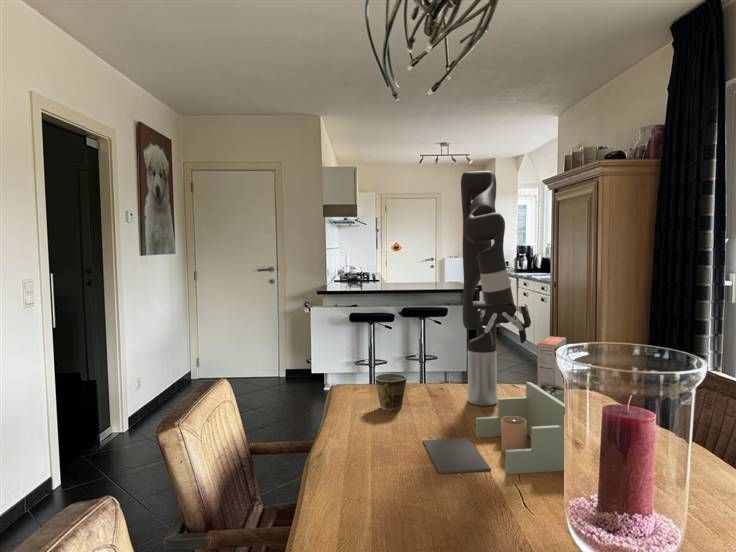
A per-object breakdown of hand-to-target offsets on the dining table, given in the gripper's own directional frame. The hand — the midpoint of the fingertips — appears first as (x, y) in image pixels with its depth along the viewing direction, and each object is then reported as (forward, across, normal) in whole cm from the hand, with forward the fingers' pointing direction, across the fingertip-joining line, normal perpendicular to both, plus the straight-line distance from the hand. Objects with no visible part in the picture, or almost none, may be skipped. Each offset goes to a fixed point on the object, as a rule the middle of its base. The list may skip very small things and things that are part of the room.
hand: (507, 343), depth 132 cm
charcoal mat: (+19, +11, +26) cm, 34 cm away
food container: (+27, -8, -6) cm, 28 cm away
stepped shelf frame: (+22, -2, +18) cm, 28 cm away
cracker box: (+29, -4, -23) cm, 37 cm away
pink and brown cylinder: (+22, -1, +18) cm, 29 cm away
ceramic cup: (+19, +40, +2) cm, 44 cm away
